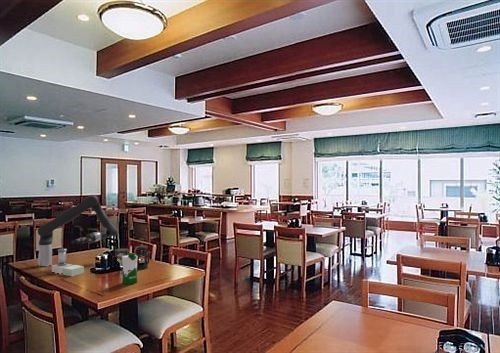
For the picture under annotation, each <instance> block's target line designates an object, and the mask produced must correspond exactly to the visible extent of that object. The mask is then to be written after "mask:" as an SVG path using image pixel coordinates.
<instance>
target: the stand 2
mask: <svg viewBox="0 0 500 353" xmlns="http://www.w3.org/2000/svg"><path fill="white" fill-rule="evenodd" d="M82 273H83V274H84V273H85V266H83V265H77V264H74V265H73V266H69V267H65V268H63V274H62V275H64V276H69V277H74V276H78V275H82Z"/></svg>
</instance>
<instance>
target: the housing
mask: <svg viewBox="0 0 500 353" xmlns="http://www.w3.org/2000/svg"><path fill="white" fill-rule="evenodd" d="M67 250H68V249H67V248H58V249H57V252H58V260H57V261H58V263H57V265H58V266H65V265H67V264H68V263H67Z"/></svg>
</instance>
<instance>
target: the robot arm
mask: <svg viewBox="0 0 500 353" xmlns="http://www.w3.org/2000/svg"><path fill="white" fill-rule="evenodd" d="M91 208H92V209H93V211H94V212H95V214H96V216H97V219H98V221H99V223H100V225H101V226H102V227H103V228H104V230H99V231H95V232H91V233H87V234H86V235H85V236H83V237H79V238H75V239H74V240H71V241H70V242H71V243H70V244H72V245H73V244H77V245H80V244H86V243H88V244H93V243H96V242H98V241H101V240H104V239H107V238H111V237H115V236H117V235H118V228H116V226H115V225H114V224H113V223H112V222H111V221H110V219H109V217H108V215H107V214H106V213H105V211H104V209H103V207H102V205H101V204H100V200H99V198H98V196H96V195H95V194H91V195H88V196H87V197H86V198H85V199H84V200H82V201H81V202H79V203H78V204H76V205H74V206H72V207H70V208H68V209H66V210H65V211H63V212H61V213H60V214H58V215H57V216H56V217H55V218H53V219H52V220H50V221H48V222H46V223H44V224H42V225H40V226H39V227H38V229H37V234H38V236H39V237H40V238H39V241H38V254H37V255H38V257H37V258H38V265H39V266H38V267H40V266H46V267H49V265H51V266H53V238H54V231H55V230H56V229H58V228H60V227H62V226H65V225H66V224H68V223H70V222H72V221H73V220H74V219H76V218H78V217H79V216H80V215H81V214H82V213H84V212H85V211H87V210H89V209H91Z"/></svg>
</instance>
